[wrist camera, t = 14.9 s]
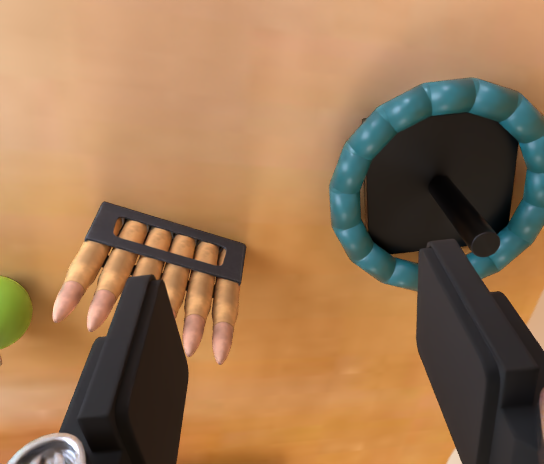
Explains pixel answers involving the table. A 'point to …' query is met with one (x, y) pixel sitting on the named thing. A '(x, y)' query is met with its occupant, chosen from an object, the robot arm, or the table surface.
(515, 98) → the ring
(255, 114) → the table surface
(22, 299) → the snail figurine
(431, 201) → the stand
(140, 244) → the ammunition clip
